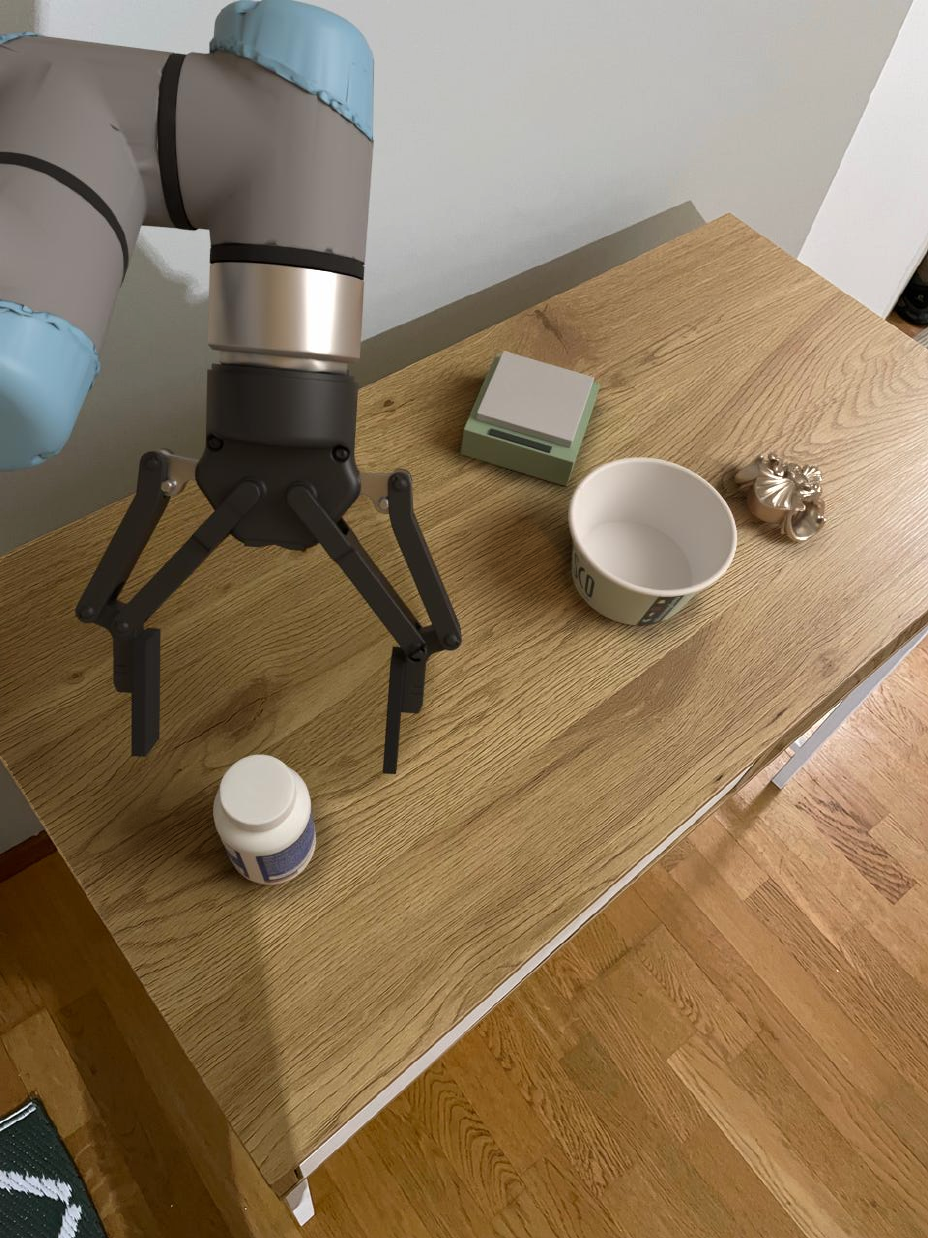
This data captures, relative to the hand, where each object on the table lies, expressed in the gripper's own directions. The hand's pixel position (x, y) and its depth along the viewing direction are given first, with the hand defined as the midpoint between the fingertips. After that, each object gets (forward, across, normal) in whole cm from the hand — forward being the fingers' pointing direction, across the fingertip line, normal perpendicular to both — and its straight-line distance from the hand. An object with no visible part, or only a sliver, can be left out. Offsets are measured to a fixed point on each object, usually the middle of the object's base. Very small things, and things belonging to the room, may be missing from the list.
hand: (268, 756), depth 52 cm
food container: (-8, -24, -20) cm, 32 cm away
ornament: (-14, -36, -26) cm, 47 cm away
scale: (-18, -16, -30) cm, 38 cm away
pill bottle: (+8, 0, -4) cm, 9 cm away
